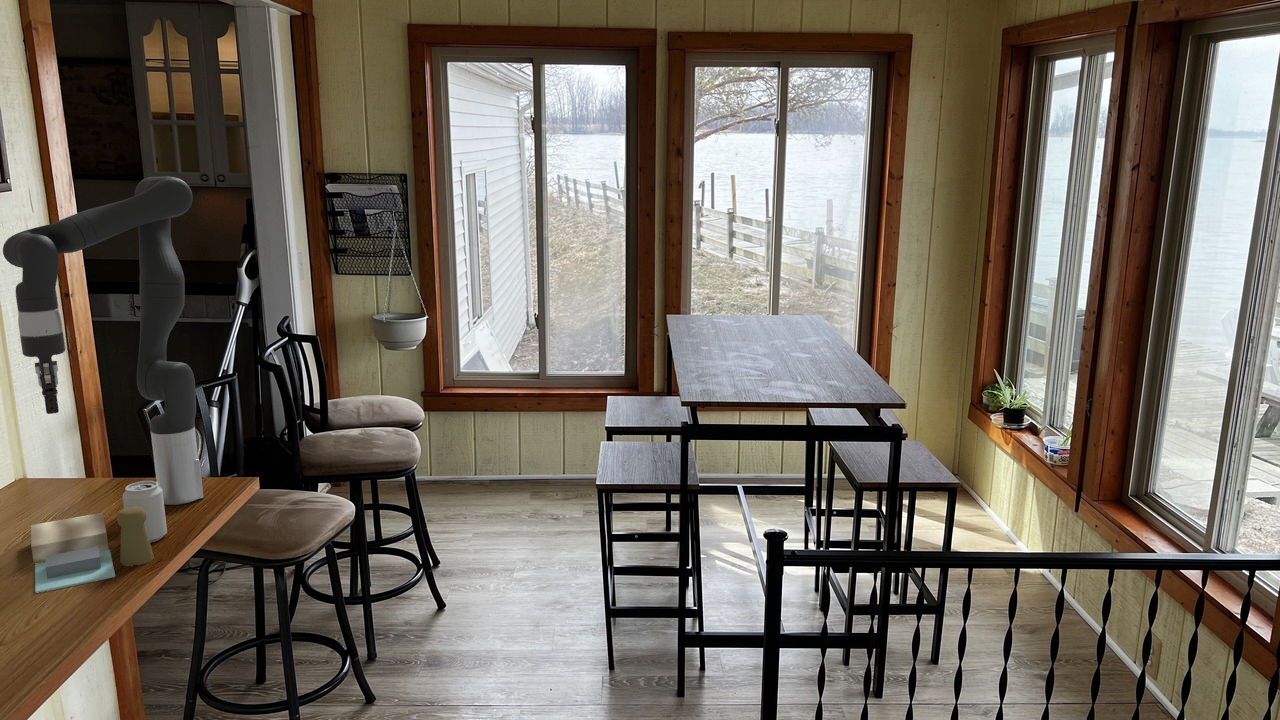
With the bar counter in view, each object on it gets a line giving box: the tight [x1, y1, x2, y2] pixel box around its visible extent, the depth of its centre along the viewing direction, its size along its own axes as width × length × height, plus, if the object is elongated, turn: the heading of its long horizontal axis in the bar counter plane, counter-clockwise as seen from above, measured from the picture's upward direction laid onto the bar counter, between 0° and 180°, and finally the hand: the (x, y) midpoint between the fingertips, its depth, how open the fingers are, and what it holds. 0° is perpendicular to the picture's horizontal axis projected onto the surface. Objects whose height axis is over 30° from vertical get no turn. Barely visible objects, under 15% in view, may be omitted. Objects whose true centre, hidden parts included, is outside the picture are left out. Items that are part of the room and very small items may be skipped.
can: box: [122, 480, 168, 544], centre depth 197 cm, size 8×8×12 cm
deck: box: [30, 512, 110, 565], centre depth 193 cm, size 13×13×4 cm
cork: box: [116, 506, 155, 567], centre depth 186 cm, size 6×6×11 cm
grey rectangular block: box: [45, 546, 101, 579], centre depth 183 cm, size 9×6×2 cm, turn 122°
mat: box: [34, 549, 116, 594], centre depth 182 cm, size 13×14×1 cm
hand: (52, 412), depth 195 cm, fingers closed
